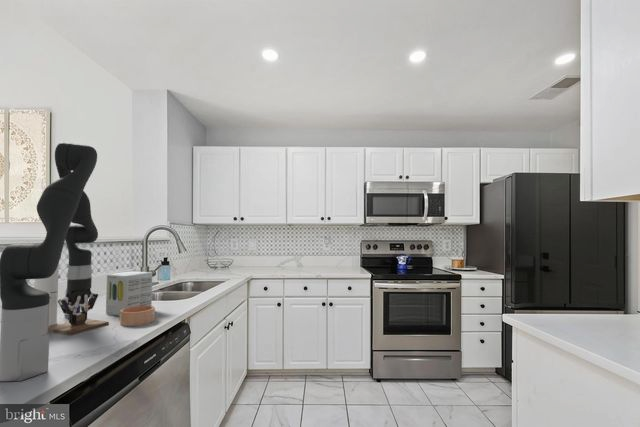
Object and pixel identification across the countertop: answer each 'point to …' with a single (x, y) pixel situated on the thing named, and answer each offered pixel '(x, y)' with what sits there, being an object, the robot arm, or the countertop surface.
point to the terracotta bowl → (137, 315)
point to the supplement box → (128, 291)
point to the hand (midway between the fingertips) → (78, 322)
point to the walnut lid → (77, 325)
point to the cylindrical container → (50, 294)
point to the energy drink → (68, 305)
